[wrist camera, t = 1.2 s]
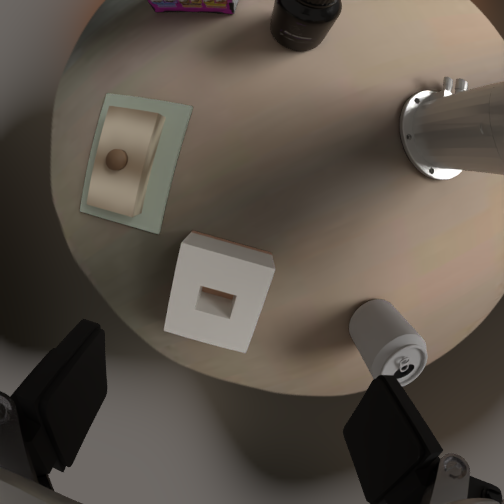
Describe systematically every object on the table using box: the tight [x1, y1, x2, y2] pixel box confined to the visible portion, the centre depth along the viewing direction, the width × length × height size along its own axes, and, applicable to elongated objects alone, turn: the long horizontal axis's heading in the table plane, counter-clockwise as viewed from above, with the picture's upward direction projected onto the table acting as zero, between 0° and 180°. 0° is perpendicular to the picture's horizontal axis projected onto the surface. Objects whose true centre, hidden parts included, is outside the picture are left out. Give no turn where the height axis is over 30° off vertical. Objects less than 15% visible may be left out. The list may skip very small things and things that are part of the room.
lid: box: [87, 106, 166, 217], centre depth 30 cm, size 12×6×4 cm, turn 164°
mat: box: [80, 93, 193, 234], centre depth 32 cm, size 16×12×1 cm
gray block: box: [164, 231, 275, 353], centre depth 34 cm, size 11×10×6 cm
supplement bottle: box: [271, 0, 342, 51], centre depth 22 cm, size 7×7×12 cm
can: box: [349, 299, 428, 386], centre depth 33 cm, size 8×8×12 cm
